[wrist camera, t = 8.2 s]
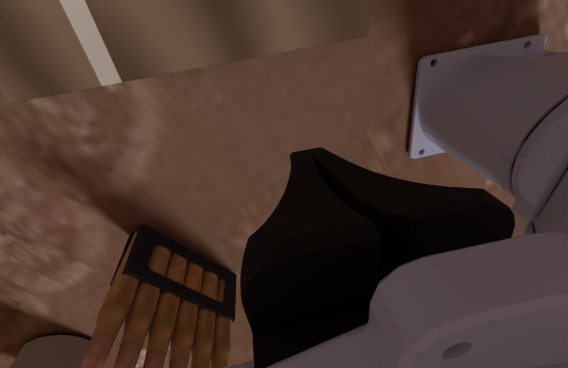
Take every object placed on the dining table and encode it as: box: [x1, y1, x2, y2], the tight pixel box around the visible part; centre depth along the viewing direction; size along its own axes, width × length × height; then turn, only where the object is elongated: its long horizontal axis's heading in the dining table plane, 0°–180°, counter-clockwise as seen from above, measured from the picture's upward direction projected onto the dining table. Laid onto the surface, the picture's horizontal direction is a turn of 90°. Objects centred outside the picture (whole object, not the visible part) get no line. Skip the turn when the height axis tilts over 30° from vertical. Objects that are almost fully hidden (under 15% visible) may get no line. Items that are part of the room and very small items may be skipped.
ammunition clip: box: [81, 224, 236, 368], centre depth 21 cm, size 11×2×12 cm, turn 42°
